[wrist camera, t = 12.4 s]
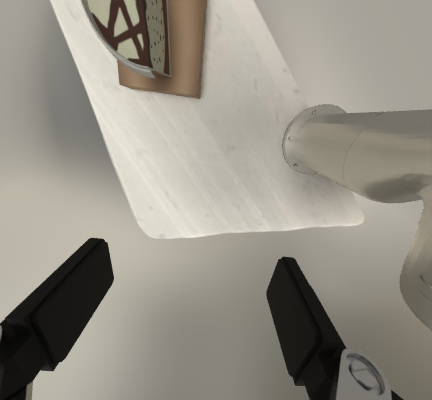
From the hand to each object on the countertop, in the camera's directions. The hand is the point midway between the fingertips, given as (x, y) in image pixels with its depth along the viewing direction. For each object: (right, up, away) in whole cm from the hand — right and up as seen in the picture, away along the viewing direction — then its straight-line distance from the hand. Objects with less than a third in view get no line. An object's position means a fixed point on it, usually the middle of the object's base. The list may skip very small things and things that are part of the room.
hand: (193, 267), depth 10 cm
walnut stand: (-7, +28, +18) cm, 34 cm away
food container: (-8, +27, +14) cm, 32 cm away
